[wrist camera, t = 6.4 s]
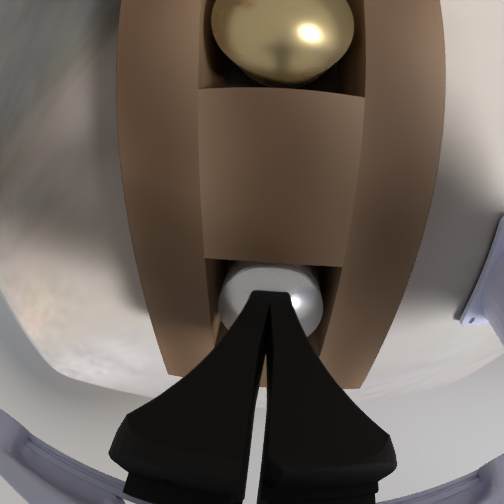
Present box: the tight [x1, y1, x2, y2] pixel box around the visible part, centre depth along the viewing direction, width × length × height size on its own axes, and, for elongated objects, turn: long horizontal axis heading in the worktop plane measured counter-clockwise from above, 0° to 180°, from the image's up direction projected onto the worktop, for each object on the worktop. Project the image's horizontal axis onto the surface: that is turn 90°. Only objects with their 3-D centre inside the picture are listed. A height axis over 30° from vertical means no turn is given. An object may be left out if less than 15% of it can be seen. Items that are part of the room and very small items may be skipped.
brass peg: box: [211, 0, 354, 88], centre depth 7 cm, size 4×4×4 cm
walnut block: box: [116, 0, 446, 389], centre depth 9 cm, size 10×20×4 cm, turn 179°
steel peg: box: [218, 260, 323, 337], centre depth 12 cm, size 4×4×4 cm
